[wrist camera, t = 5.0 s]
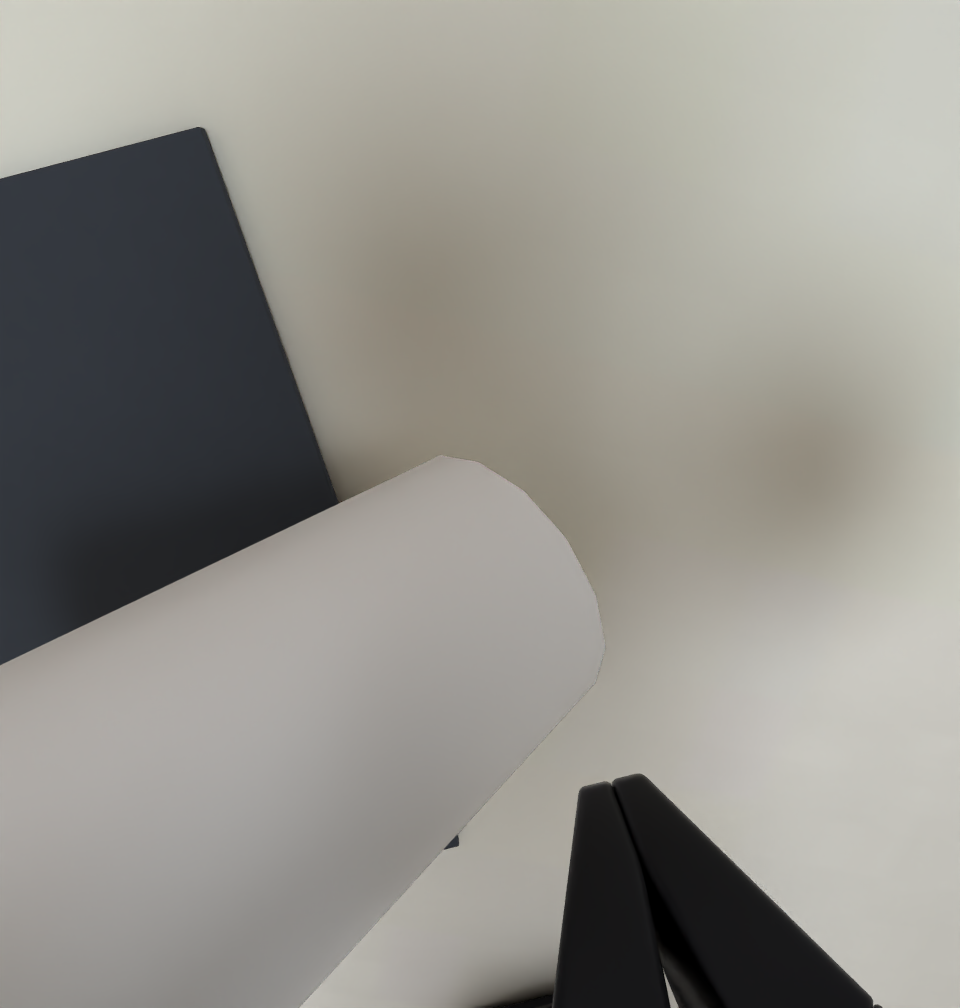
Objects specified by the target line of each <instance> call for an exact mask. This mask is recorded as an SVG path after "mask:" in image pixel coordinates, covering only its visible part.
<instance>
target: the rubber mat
mask: <svg viewBox="0 0 960 1008" xmlns="http://www.w3.org/2000/svg"><path fill="white" fill-rule="evenodd" d="M337 504H339V503H338V500H337V497H336V494H335V492H334V489H333V486H332V483H331V480H330V478H329V475H328V472H327V469H326V467H325V464H324V461H323V458H322V455H321V453H320V450H319V447H318V444H317V441H316V439H315V436H314V433H313V430H312V427H311V425H310V422H309V419H308V416H307V413H306V411H305V408H304V405H303V402H302V400H301V397H300V394H299V391H298V388H297V386H296V383H295V380H294V377H293V374H292V372H291V369H290V366H289V363H288V360H287V358H286V355H285V352H284V349H283V346H282V344H281V341H280V338H279V335H278V333H277V330H276V327H275V324H274V321H273V319H272V316H271V313H270V310H269V307H268V305H267V302H266V299H265V296H264V293H263V291H262V288H261V285H260V282H259V279H258V277H257V274H256V271H255V268H254V266H253V263H252V260H251V257H250V254H249V252H248V249H247V246H246V243H245V240H244V238H243V235H242V232H241V229H240V226H239V224H238V221H237V218H236V215H235V212H234V210H233V207H232V204H231V201H230V199H229V196H228V193H227V190H226V187H225V185H224V182H223V179H222V176H221V173H220V171H219V168H218V165H217V162H216V159H215V157H214V154H213V151H212V148H211V145H210V143H209V140H208V137H207V134H206V132H205V130H204V129H203V128H201V127H196V128H193V129H189V130H185V131H181V132H177V133H174V134H170V135H166V136H162V137H158V138H154V139H151V140H147V141H143V142H139V143H135V144H132V145H128V146H124V147H120V148H116V149H112V150H109V151H105V152H101V153H97V154H93V155H90V156H86V157H82V158H78V159H74V160H70V161H67V162H63V163H59V164H55V165H51V166H48V167H44V168H40V169H36V170H32V171H28V172H25V173H21V174H17V175H13V176H9V177H6V178H2V179H0V665H2V664H4V663H6V662H8V661H10V660H12V659H14V658H17V657H19V656H21V655H23V654H25V653H27V652H29V651H31V650H33V649H35V648H38V647H40V646H42V645H44V644H46V643H48V642H50V641H52V640H54V639H56V638H58V637H61V636H63V635H65V634H67V633H69V632H71V631H73V630H75V629H77V628H79V627H82V626H84V625H86V624H88V623H90V622H92V621H94V620H96V619H98V618H100V617H102V616H105V615H107V614H109V613H111V612H113V611H115V610H117V609H119V608H121V607H123V606H125V605H128V604H130V603H132V602H134V601H136V600H138V599H140V598H142V597H144V596H146V595H149V594H151V593H153V592H155V591H157V590H159V589H161V588H163V587H165V586H167V585H169V584H172V583H174V582H176V581H178V580H180V579H182V578H184V577H186V576H188V575H190V574H192V573H195V572H197V571H199V570H201V569H203V568H205V567H207V566H209V565H211V564H213V563H216V562H218V561H220V560H222V559H224V558H226V557H228V556H230V555H232V554H234V553H236V552H239V551H241V550H243V549H245V548H247V547H249V546H251V545H253V544H255V543H257V542H260V541H262V540H264V539H266V538H268V537H270V536H272V535H274V534H276V533H278V532H280V531H283V530H285V529H287V528H289V527H291V526H293V525H295V524H297V523H299V522H301V521H303V520H306V519H308V518H310V517H312V516H314V515H316V514H318V513H320V512H322V511H324V510H327V509H329V508H331V507H333V506H335V505H337ZM457 846H459V838H458V835H456V836H455V837H454V838H453V839H452V840H451V842H450V843H449V844H448V845H447V846H446V847H445V848H444V849H443V850H445V849H449V848H453V847H457Z"/></svg>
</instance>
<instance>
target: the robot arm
mask: <svg viewBox="0 0 960 1008" xmlns="http://www.w3.org/2000/svg"><path fill="white" fill-rule="evenodd" d="M663 969H664V972H665V974H666V977H667V980H668V982H669V985H670V987H671V990H672V992H673V994H674V997H675V999H676V1002H677V1004H678V1006H679V1008H882V1007H881V1006H880V1005H874V1006H873V1000H872V998H871V996H870V995H869V994H868V993H867V992H866V991H865V990H864V989H862V988H861V987H860V986H859V985H858V984H857V983H856V982H855V981H854V980H853V979H852V978H851V977H850V976H849V975H848V974H847V973H846V972H845V971H844V970H843V969H842V968H841V967H840V966H839V965H838V964H837V963H836V962H835V961H834V960H833V959H832V958H831V957H830V956H829V955H828V954H827V953H826V952H825V951H824V950H823V949H822V948H821V947H820V946H819V945H818V944H816V943H815V942H814V941H813V940H812V939H811V938H810V937H809V936H808V935H807V934H806V933H805V932H804V931H803V930H802V929H801V928H800V927H799V926H798V925H797V924H796V923H795V922H794V921H793V920H792V919H791V918H790V917H789V916H788V915H787V914H786V913H785V912H784V911H783V910H782V909H781V908H780V907H779V906H778V905H777V904H776V903H775V902H774V901H773V900H772V899H770V898H769V897H768V896H767V895H766V894H765V893H764V892H763V891H762V890H761V889H760V888H759V887H758V886H757V885H756V884H755V883H754V882H753V881H752V880H751V879H750V878H749V877H748V876H747V875H746V874H745V873H744V872H743V871H742V870H741V869H740V868H739V867H738V866H737V865H736V864H735V863H734V862H733V861H732V860H731V859H730V858H729V857H728V856H727V855H726V854H725V853H723V852H722V851H721V850H720V849H719V848H718V847H717V846H716V845H715V844H714V843H713V842H712V841H711V840H710V839H709V838H708V837H707V836H706V835H705V834H704V833H703V832H702V831H701V830H700V829H699V828H698V827H697V826H696V825H695V824H694V823H693V822H692V821H691V820H690V819H689V818H688V817H687V816H686V815H685V814H684V813H683V812H682V811H681V810H680V809H679V808H677V807H676V806H675V805H674V804H673V803H672V802H671V801H670V800H669V799H668V798H667V797H666V796H665V795H664V794H663V793H662V792H661V791H660V790H659V789H658V788H657V787H656V786H655V785H654V784H653V783H652V782H651V781H650V780H649V779H648V778H647V777H645V776H644V775H642V774H633V775H629V776H625V777H621V778H617V779H615V780H614V781H613V782H612V785H611V784H610V783H609V782H600V783H596V784H592V785H588V786H584V787H582V788H581V789H580V791H579V795H578V802H577V810H576V818H575V826H574V834H573V843H572V851H571V859H570V867H569V875H568V883H567V891H566V899H565V907H564V915H563V923H562V931H561V939H560V947H559V955H558V963H557V971H556V979H555V987H554V995H550V996H546V997H542V998H538V999H534V1000H530V1001H526V1002H522V1003H518V1004H513V1005H509V1006H505V1007H501V1008H670V1003H669V998H668V992H667V987H666V982H665V977H664V972H663Z"/></svg>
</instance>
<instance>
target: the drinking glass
mask: <svg viewBox="0 0 960 1008" xmlns="http://www.w3.org/2000/svg"><path fill="white" fill-rule="evenodd" d="M605 648H606V645H605V640H604V634H603V629H602V624H601V618H600V613H599V608H598V602H597V597H596V594H595V592H594V590H593V588H592V586H591V584H590V582H589V580H588V579H587V577H586V575H585V573H584V571H583V569H582V567H581V565H580V563H579V561H578V559H577V557H576V556H575V554H574V552H573V550H572V548H571V546H570V544H569V542H568V540H567V538H566V537H565V536H564V535H563V534H562V533H561V532H560V531H559V530H558V528H557V527H556V526H555V525H554V524H553V523H552V522H551V521H550V519H549V518H548V517H547V516H546V515H545V514H544V513H543V512H542V510H541V509H540V508H539V507H538V506H537V505H536V504H535V503H534V501H533V500H532V499H531V498H530V497H529V496H528V495H527V494H526V492H525V491H524V490H522V489H520V488H519V487H517V486H516V485H514V484H513V483H511V482H509V481H508V480H506V479H505V478H503V477H502V476H500V475H498V474H497V473H495V472H494V471H492V470H491V469H489V468H487V467H486V466H484V465H483V464H481V463H480V462H477V461H471V460H465V459H459V458H454V457H448V456H442V455H439V456H437V457H435V458H433V459H431V460H429V461H427V462H425V463H423V464H421V465H419V466H417V467H414V468H412V469H410V470H408V471H406V472H404V473H402V474H400V475H398V476H396V477H394V478H391V479H389V480H387V481H385V482H383V483H381V484H379V485H377V486H375V487H373V488H371V489H368V490H366V491H364V492H362V493H360V494H358V495H356V496H354V497H352V498H350V499H347V500H345V501H343V502H341V503H339V504H337V505H335V506H333V507H331V508H329V509H327V510H324V511H322V512H320V513H318V514H316V515H314V516H312V517H310V518H308V519H306V520H303V521H301V522H299V523H297V524H295V525H293V526H291V527H289V528H287V529H285V530H283V531H280V532H278V533H276V534H274V535H272V536H270V537H268V538H266V539H264V540H262V541H260V542H257V543H255V544H253V545H251V546H249V547H247V548H245V549H243V550H241V551H239V552H236V553H234V554H232V555H230V556H228V557H226V558H224V559H222V560H220V561H218V562H216V563H213V564H211V565H209V566H207V567H205V568H203V569H201V570H199V571H197V572H195V573H192V574H190V575H188V576H186V577H184V578H182V579H180V580H178V581H176V582H174V583H172V584H169V585H167V586H165V587H163V588H161V589H159V590H157V591H155V592H153V593H151V594H149V595H146V596H144V597H142V598H140V599H138V600H136V601H134V602H132V603H130V604H128V605H125V606H123V607H121V608H119V609H117V610H115V611H113V612H111V613H109V614H107V615H105V616H102V617H100V618H98V619H96V620H94V621H92V622H90V623H88V624H86V625H84V626H82V627H79V628H77V629H75V630H73V631H71V632H69V633H67V634H65V635H63V636H61V637H58V638H56V639H54V640H52V641H50V642H48V643H46V644H44V645H42V646H40V647H38V648H35V649H33V650H31V651H29V652H27V653H25V654H23V655H21V656H19V657H17V658H14V659H12V660H10V661H8V662H6V663H4V664H2V665H0V1008H299V1007H300V1006H301V1005H302V1004H303V1003H304V1002H305V1001H306V1000H307V999H308V997H309V996H310V995H311V994H312V993H313V992H314V991H315V990H316V989H317V988H318V986H319V985H320V984H321V983H322V982H323V981H324V980H325V979H326V978H327V977H328V975H329V974H330V973H331V972H332V971H333V970H334V969H335V968H336V967H337V966H338V964H339V963H340V962H341V961H342V960H343V959H344V958H345V957H346V956H347V955H348V954H349V952H350V951H351V950H352V949H353V948H354V947H355V946H356V945H357V944H358V943H359V941H360V940H361V939H362V938H363V937H364V936H365V935H366V934H367V933H368V932H369V930H370V929H371V928H372V927H373V926H374V925H375V924H376V923H377V922H378V921H379V919H380V918H381V917H382V916H383V915H384V914H385V913H386V912H387V911H388V910H389V909H390V907H391V906H392V905H393V904H394V903H395V902H396V901H397V900H398V899H399V898H400V896H401V895H402V894H403V893H404V892H405V891H406V890H407V889H408V888H409V887H410V885H411V884H412V883H413V882H414V881H415V880H416V879H417V878H418V877H419V876H420V874H421V873H422V872H423V871H424V870H425V869H426V868H427V867H428V866H429V865H430V864H431V862H432V861H433V860H434V859H435V858H436V857H437V856H438V855H439V854H440V853H441V851H442V850H443V849H444V848H445V847H446V846H447V845H448V844H449V843H450V842H451V840H452V839H453V838H454V837H455V836H456V835H457V834H458V833H459V832H460V831H461V829H462V828H463V827H464V826H465V825H466V824H467V823H468V822H469V821H470V820H471V819H472V817H473V816H474V815H475V814H476V813H477V812H478V811H479V810H480V809H481V808H482V806H483V805H484V804H485V803H486V802H487V801H488V800H489V799H490V798H491V797H492V795H493V794H494V793H495V792H496V791H497V790H498V789H499V788H500V787H501V786H502V784H503V783H504V782H505V781H506V780H507V779H508V778H509V777H510V776H511V775H512V774H513V772H514V771H515V770H516V769H517V768H518V767H519V766H520V765H521V764H522V763H523V761H524V760H525V759H526V758H527V757H528V756H529V755H530V754H531V753H532V752H533V750H534V749H535V748H536V747H537V746H538V745H539V744H540V743H541V742H542V741H543V739H544V738H545V737H546V736H547V735H548V734H549V733H550V732H551V731H552V730H553V729H554V727H555V726H556V725H557V724H558V723H559V722H560V721H561V720H562V719H563V718H564V716H565V715H566V714H567V713H568V712H569V711H570V710H571V709H572V708H573V707H574V705H575V704H576V703H577V702H578V701H579V700H580V699H581V698H582V697H583V696H584V694H585V693H586V692H587V691H588V690H589V689H590V688H591V687H592V686H593V685H594V684H595V683H596V680H597V676H598V673H599V669H600V666H601V662H602V658H603V655H604V651H605Z"/></svg>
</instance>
